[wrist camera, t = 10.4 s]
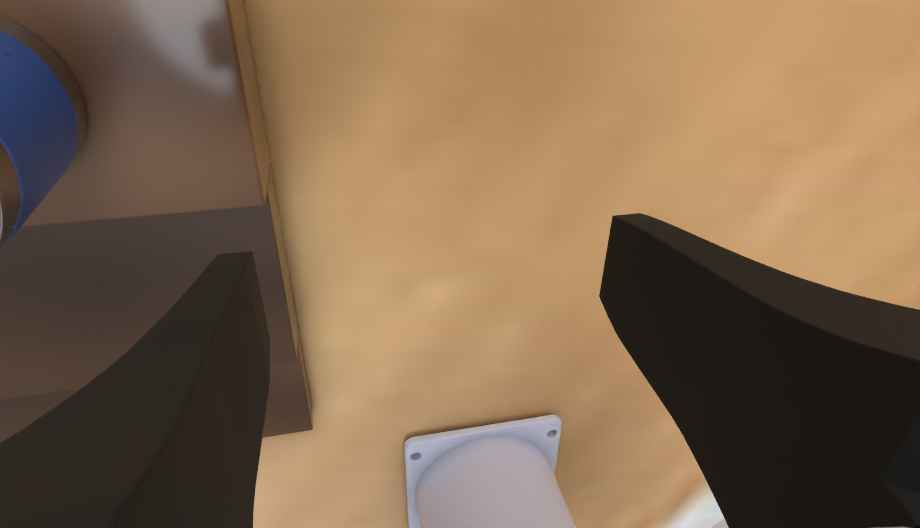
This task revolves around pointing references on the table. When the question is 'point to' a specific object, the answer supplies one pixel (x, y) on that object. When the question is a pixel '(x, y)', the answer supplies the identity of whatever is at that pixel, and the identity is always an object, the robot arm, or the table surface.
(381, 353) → the table surface
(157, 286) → the step shelf
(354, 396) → the table surface
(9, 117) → the can
